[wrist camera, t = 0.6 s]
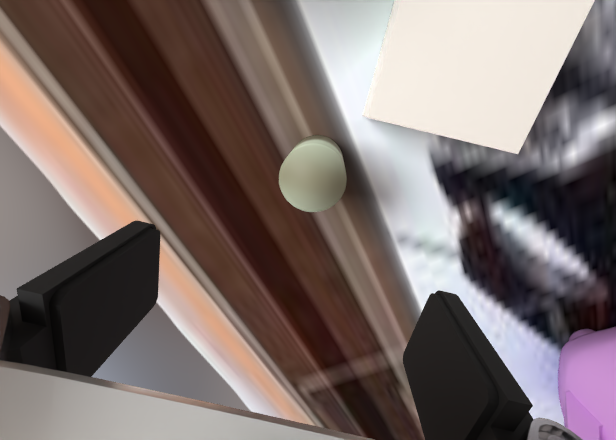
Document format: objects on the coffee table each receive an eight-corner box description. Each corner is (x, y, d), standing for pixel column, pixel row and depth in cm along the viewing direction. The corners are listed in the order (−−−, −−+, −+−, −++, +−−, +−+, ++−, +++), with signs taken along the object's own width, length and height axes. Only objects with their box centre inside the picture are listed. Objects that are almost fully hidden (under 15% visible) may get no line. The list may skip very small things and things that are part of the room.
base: (409, -53, 22) (425, -85, 18) (565, -14, 22) (613, -38, 18) (362, 115, 26) (367, 117, 23) (492, 146, 26) (518, 154, 23)
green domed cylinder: (296, 129, 27) (285, 138, 21) (349, 142, 27) (354, 154, 21) (286, 180, 29) (273, 203, 23) (335, 192, 29) (336, 218, 23)
